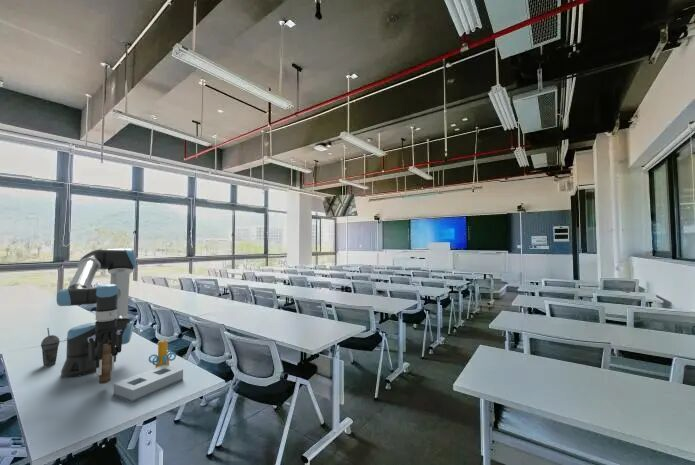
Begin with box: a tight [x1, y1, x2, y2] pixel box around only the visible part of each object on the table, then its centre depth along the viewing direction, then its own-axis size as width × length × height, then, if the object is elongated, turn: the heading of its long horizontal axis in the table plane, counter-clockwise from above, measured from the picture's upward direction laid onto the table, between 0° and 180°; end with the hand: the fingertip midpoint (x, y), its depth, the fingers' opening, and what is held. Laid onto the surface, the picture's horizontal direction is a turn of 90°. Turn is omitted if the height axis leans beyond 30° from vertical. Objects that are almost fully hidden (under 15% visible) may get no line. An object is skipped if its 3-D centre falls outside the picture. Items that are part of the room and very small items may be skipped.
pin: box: [98, 344, 112, 385], centre depth 132 cm, size 4×4×16 cm
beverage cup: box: [40, 327, 61, 367], centre depth 159 cm, size 7×7×20 cm
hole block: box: [112, 365, 184, 404], centre depth 133 cm, size 14×22×5 cm, turn 155°
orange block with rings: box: [148, 339, 177, 368], centre depth 152 cm, size 12×10×15 cm
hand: (105, 372), depth 132 cm, fingers closed on pin, 4 cm apart
